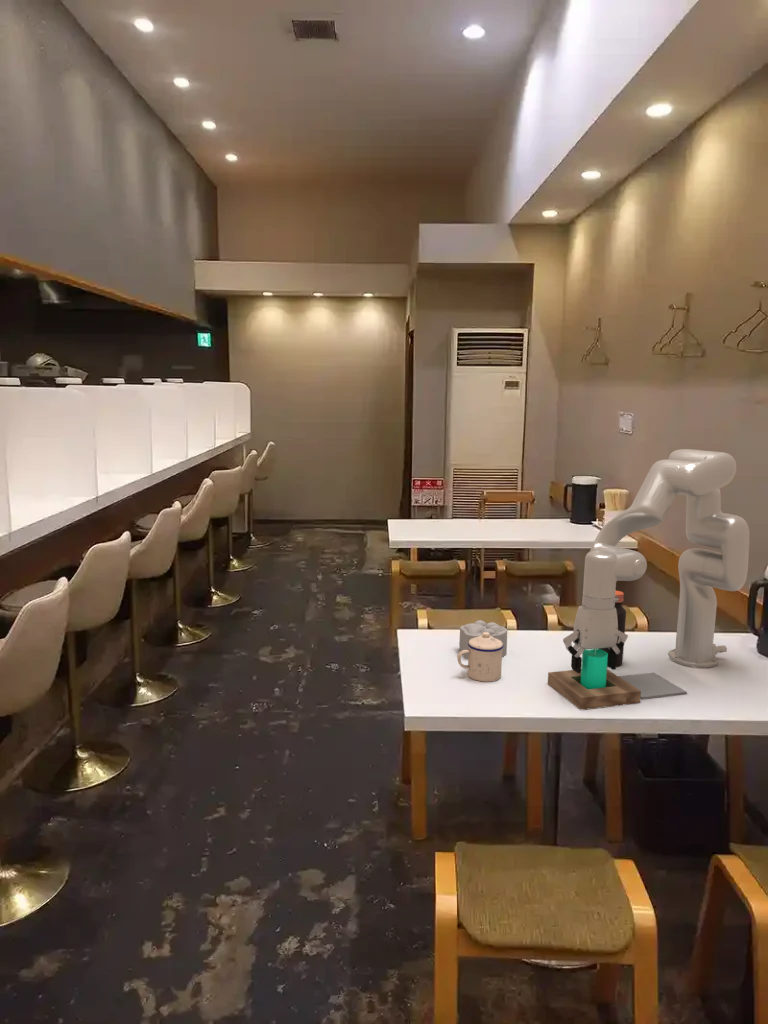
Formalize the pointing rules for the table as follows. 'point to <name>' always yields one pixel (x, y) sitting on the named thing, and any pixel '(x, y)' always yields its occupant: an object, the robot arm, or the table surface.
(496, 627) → the lumpy-topped squat cylinder
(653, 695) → the mat
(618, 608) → the bottle
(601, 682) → the candle
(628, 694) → the stand
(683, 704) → the table surface
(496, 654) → the teacup with lid
